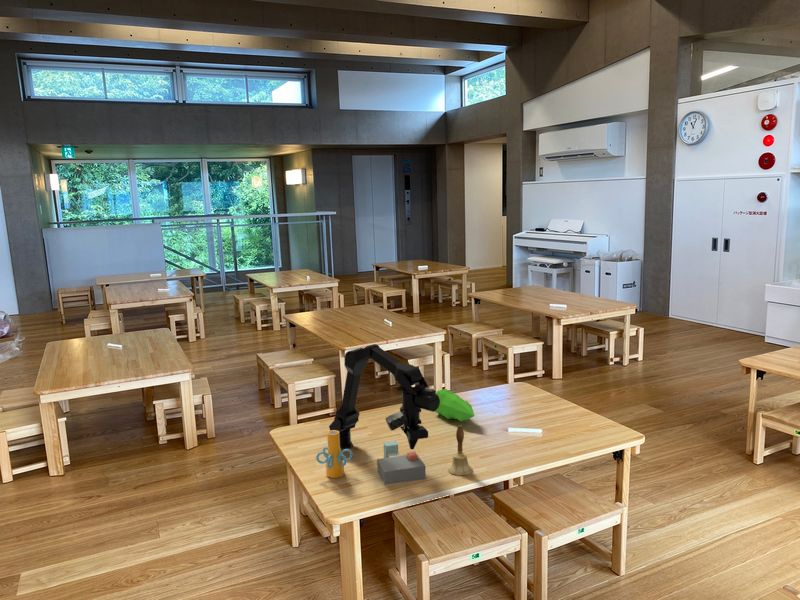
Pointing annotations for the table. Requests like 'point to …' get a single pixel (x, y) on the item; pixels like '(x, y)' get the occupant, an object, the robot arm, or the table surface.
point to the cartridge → (390, 449)
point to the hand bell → (460, 457)
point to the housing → (400, 469)
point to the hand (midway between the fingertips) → (411, 448)
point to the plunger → (411, 456)
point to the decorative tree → (453, 406)
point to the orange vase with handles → (334, 455)
